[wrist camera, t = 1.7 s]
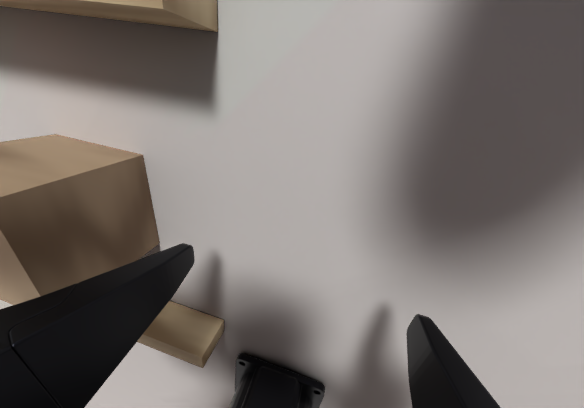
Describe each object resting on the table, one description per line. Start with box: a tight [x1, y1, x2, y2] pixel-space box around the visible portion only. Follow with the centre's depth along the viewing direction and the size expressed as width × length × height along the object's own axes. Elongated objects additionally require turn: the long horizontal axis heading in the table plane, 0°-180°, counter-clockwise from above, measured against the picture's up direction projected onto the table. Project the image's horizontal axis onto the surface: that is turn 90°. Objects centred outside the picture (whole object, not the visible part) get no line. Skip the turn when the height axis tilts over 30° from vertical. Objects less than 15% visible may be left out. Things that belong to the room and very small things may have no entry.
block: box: [0, 134, 160, 305], centre depth 10 cm, size 6×6×6 cm
